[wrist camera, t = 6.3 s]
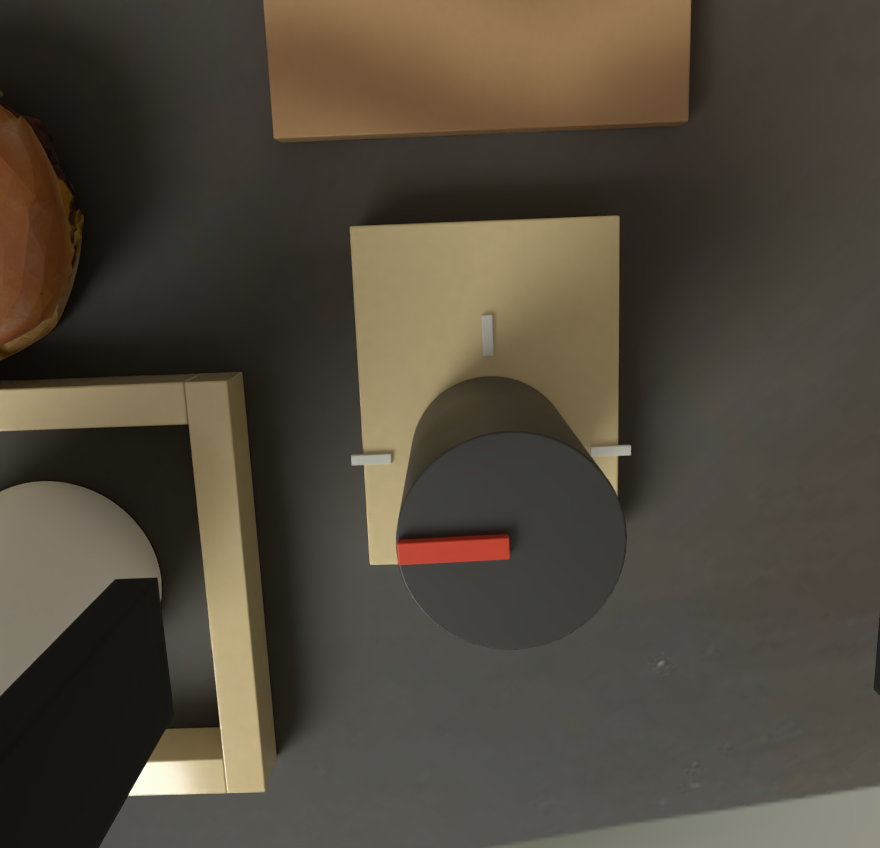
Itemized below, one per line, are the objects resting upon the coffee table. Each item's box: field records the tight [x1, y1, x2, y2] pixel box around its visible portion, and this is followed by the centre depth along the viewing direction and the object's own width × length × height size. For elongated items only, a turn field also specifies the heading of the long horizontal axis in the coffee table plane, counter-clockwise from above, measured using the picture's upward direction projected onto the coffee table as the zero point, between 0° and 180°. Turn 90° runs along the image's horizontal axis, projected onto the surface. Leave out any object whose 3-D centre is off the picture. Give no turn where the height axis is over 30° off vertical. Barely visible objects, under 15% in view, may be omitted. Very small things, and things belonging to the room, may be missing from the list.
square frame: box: [0, 372, 277, 796], centre depth 30 cm, size 16×16×2 cm
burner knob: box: [396, 376, 627, 650], centre depth 24 cm, size 6×6×9 cm
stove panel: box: [350, 215, 631, 565], centre depth 29 cm, size 13×10×2 cm
